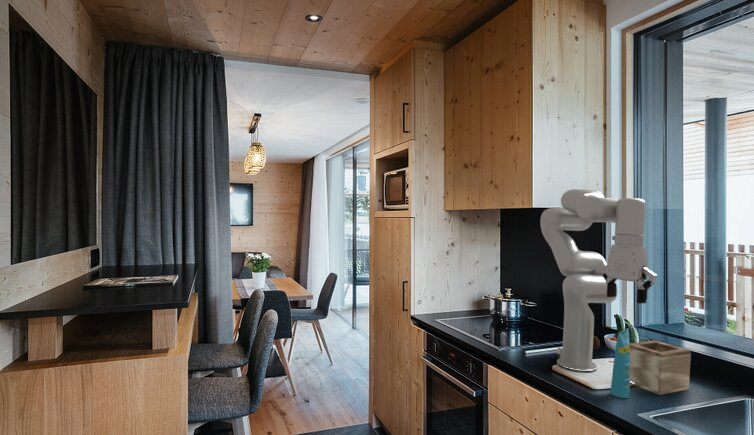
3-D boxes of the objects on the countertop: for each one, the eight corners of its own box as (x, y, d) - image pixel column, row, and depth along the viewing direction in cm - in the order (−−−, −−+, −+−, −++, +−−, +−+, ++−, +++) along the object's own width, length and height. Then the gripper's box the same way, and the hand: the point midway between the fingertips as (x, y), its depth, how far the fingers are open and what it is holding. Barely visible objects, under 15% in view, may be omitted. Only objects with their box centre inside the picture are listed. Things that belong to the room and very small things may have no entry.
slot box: (624, 381, 152) (626, 343, 152) (653, 376, 158) (655, 340, 158) (660, 394, 142) (662, 354, 141) (688, 389, 147) (691, 350, 147)
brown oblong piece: (564, 355, 184) (592, 351, 190) (573, 352, 180) (602, 348, 186) (559, 340, 186) (587, 336, 193) (568, 337, 182) (596, 333, 189)
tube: (625, 401, 135) (629, 333, 135) (607, 396, 139) (611, 330, 138) (632, 394, 141) (635, 329, 141) (614, 389, 144) (617, 326, 144)
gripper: (594, 238, 145) (591, 295, 145) (648, 243, 129) (645, 306, 130) (611, 239, 148) (609, 294, 149) (666, 243, 133) (663, 305, 133)
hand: (625, 299), depth 139 cm, fingers open, 9 cm apart
